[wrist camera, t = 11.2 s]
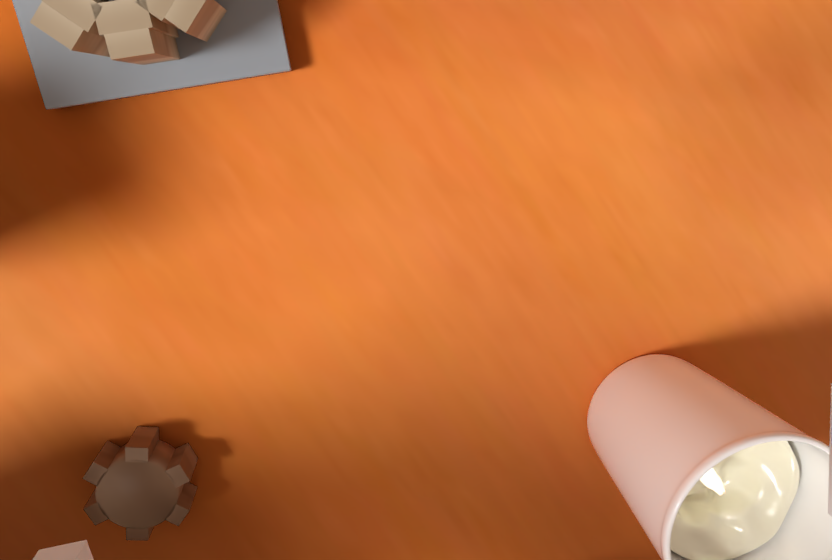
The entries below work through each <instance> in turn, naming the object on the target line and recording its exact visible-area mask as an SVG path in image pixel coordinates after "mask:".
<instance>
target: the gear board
mask: <svg viewBox="0 0 832 560" xmlns="http://www.w3.org/2000/svg"><path fill="white" fill-rule="evenodd" d="M12 1H13V4H14V8H15V11H16V14H17V17H18V21H19V24H20V27H21V30H22V34H23V37H24V40H25V43H26V47H27V50H28V53H29V56H30V59H31V63H32V66H33V69H34V72H35V76H36V79H37V82H38V85H39V89H40V92H41V95H42V98H43V102H44V105H45V108H46V109H59V108H65V107H71V106H77V105H84V104H90V103H96V102H102V101H109V100H115V99H121V98H127V97H133V96H140V95H146V94H152V93H158V92H165V91H171V90H177V89H183V88H190V87H196V86H202V85H208V84H215V83H221V82H227V81H233V80H239V79H246V78H252V77H258V76H264V75H271V74H277V73H283V72H289V71H292V69H291V64H290V59H289V54H288V49H287V44H286V39H285V35H284V30H283V25H282V20H281V15H280V10H279V5H278V0H215V1H216V2H217V3H218V4H220V5H221V6H222V7H223V8H225V9H226V10H227V11H226V13H225V14H224V16H223V18H222V19H221V21H220V22H219V24H218V26H217V27H216V29H215V30H214V32H213V33H212V35H211V37H210V38H209V40H208V41H207V42H206V41H203V40H201V39H199V38H196V37H194V36H192V35H189V34H187V33H185V32H184V31H182V30H181V29H178V28H177V31H178V35H179V37H177V38H175V39H176V43H177V47H178V51H179V55H180V59H179V60H173V61H166V62H160V63H153V64H147V65H140V64H134V63H128V62H121V61H115V60H111V59H110V57H107V56H101V55H95V54H89V53H84V52H78V51H72V50H70V49H69V48H67V47H66V46H64V45H63V44H61V43H60V42H58V41H57V40H55V39H54V38H52V37H51V36H49V35H48V34H46V33H45V32H43V31H42V30H40V29H39V28H37V27H36V26H34V25H33V24H31V23H30V21H31V19H32V17H33V16H34V14H35V12H36V11H37V9H38V7H39V5H40V4H41V2H42V1H41V0H12ZM109 1H115V0H109Z"/></svg>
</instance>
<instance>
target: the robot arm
mask: <svg viewBox="0 0 832 560" xmlns="http://www.w3.org/2000/svg"><path fill="white" fill-rule="evenodd" d="M828 514H829V515H830V516H832V383H831V408H830V445H829V483H828ZM33 560H94V559H93V556H92V554H91V551H90V548H89V545H88V542H87V540H83V541H78V542H73V543H69V544H64V545H59V546H54V547H50V548H45V549H40V550H38V552H37V553H36V555H35V557H34V558H33Z"/></svg>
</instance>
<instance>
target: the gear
mask: <svg viewBox="0 0 832 560" xmlns="http://www.w3.org/2000/svg"><path fill="white" fill-rule="evenodd" d="M197 461H198V458H197V456H196V454H195V453H194V451H193V450H192V448H191V447H190V445H189V443H186V444H184V445H182V446H180V447H178V448H176V449H175V448H174V447H173V446H171V445H169V444H168V443H166V442H163V441H160V440H159V427H140V426H137V428H136V430H135V431H134V433H133V435H132V437H131V438H130V440H129V442H128V443H126V444H125V445H123V446H122V447H120V446H118V445H116V444H114V443H112V442H110V441H108V440H107V442H106V443H105V445H104V446H103V448H102V449H101V451H100V452H99V454H98V455H97V457H96V458H95V460H94V461H93V463H92V465H91V466H90V468H89V469H88V471H87V472H86V474H85V475H84V477H83V479H84V480H86V481H88V482H90V483H92V484H94V485H96V489H95V490H94V492H93V494H92V495H91V497H90V499H89V500H88V502H87V504H86V505H85V507H84V511H85V512H86V513H87V515H88V516H89V518H90V519H91V520H92V522H93V523H94V525H97V524H99V523H101V522H103V521H105V520H108V519H109V520H110V521H112V522H114V523H115V524H117V525H120V526H122V527H126V540H149V537H150V535H151V532H152V530H153V527H154V526H155V525H158V524H160V523H161V522H163V521H164V520H166V521H169V522H171V523H173V524H175V525H177V526H179V525H180V523H181V522H182V521H183V519H184V518H185V516H186V515H187V514H188V512H189V511H190V508H191V505H192V502H193V499H194V496H195V493H196V490H197V486H195V485H193V484H191V483H189V481H190V480H191V477H192V474H193V472H194V469H195V466H196V463H197Z"/></svg>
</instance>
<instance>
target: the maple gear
mask: <svg viewBox="0 0 832 560" xmlns="http://www.w3.org/2000/svg"><path fill="white" fill-rule="evenodd" d="M41 1H42V2H41V4H40V5H39V7H38V9H37V11H36V12H35V14H34V16H33V17H32V19H31V21H30V23H31V24H33V25H34V26H36V27H37V28H39V29H40V30H42V31H43V32H45V33H46V34H48V35H49V36H51V37H52V38H54V39H55V40H57V41H58V42H60V43H61V44H63V45H64V46H66V47H67V48H69V49H70V50H72V51H78V52H84V53H89V54H95V55H101V56H107V57H110V59H111V60H115V61H121V62H128V63H134V64H140V65H147V64H153V63H160V62H166V61H173V60H179V59H180V55H179V51H178V47H177V43H176V39H175V38H177V37H179V35H178V31H177V28H178V29H181V30H182V31H184V32H185V33H187V34H189V35H192V36H194V37H196V38H199V39H201V40H203V41H206V42H207V41H208V40H209V38H210V37H211V35H212V33H213V32H214V30H215V29H216V27H217V26H218V24H219V22H220V21H221V19H222V18H223V16H224V14H225V13H226V11H227V10H226V9H225V8H223V7H222V6H221V5H220V4H218V3H217V2H216V1H215V0H115V1H109V0H41Z"/></svg>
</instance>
